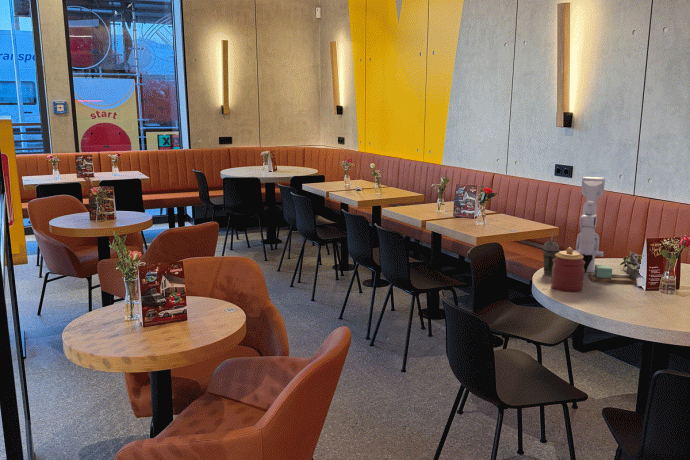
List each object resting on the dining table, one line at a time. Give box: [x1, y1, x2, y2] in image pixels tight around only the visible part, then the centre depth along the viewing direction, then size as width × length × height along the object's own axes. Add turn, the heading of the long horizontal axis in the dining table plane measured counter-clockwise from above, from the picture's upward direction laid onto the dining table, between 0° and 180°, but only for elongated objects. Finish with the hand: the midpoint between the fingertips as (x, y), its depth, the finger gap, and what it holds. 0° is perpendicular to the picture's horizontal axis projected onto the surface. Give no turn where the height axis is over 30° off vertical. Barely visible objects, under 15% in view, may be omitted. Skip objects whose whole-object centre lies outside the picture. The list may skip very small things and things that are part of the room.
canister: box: [550, 246, 585, 293], centre depth 253 cm, size 13×13×18 cm
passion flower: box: [619, 250, 643, 274], centre depth 280 cm, size 11×11×12 cm
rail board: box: [587, 263, 638, 285], centre depth 266 cm, size 18×10×6 cm, turn 80°
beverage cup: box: [542, 231, 560, 277], centre depth 273 cm, size 7×7×20 cm
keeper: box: [593, 264, 613, 278], centre depth 266 cm, size 6×6×4 cm
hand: (584, 271), depth 267 cm, fingers closed
